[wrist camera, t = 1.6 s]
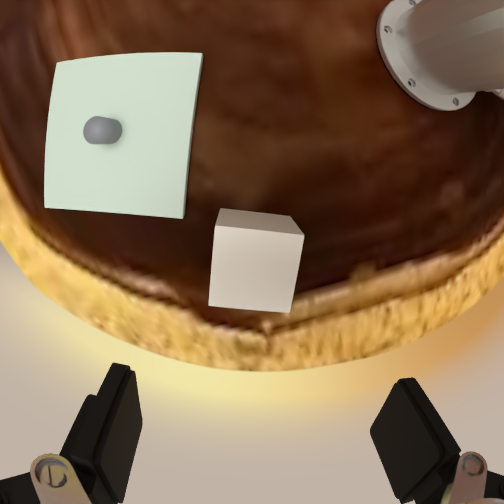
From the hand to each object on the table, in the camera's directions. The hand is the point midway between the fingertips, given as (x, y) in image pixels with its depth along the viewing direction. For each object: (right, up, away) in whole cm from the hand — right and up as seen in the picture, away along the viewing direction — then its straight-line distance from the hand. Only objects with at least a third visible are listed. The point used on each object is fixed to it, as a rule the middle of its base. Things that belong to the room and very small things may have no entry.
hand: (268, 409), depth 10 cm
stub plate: (-12, +16, +13) cm, 24 cm away
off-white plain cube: (-1, +6, +17) cm, 18 cm away
